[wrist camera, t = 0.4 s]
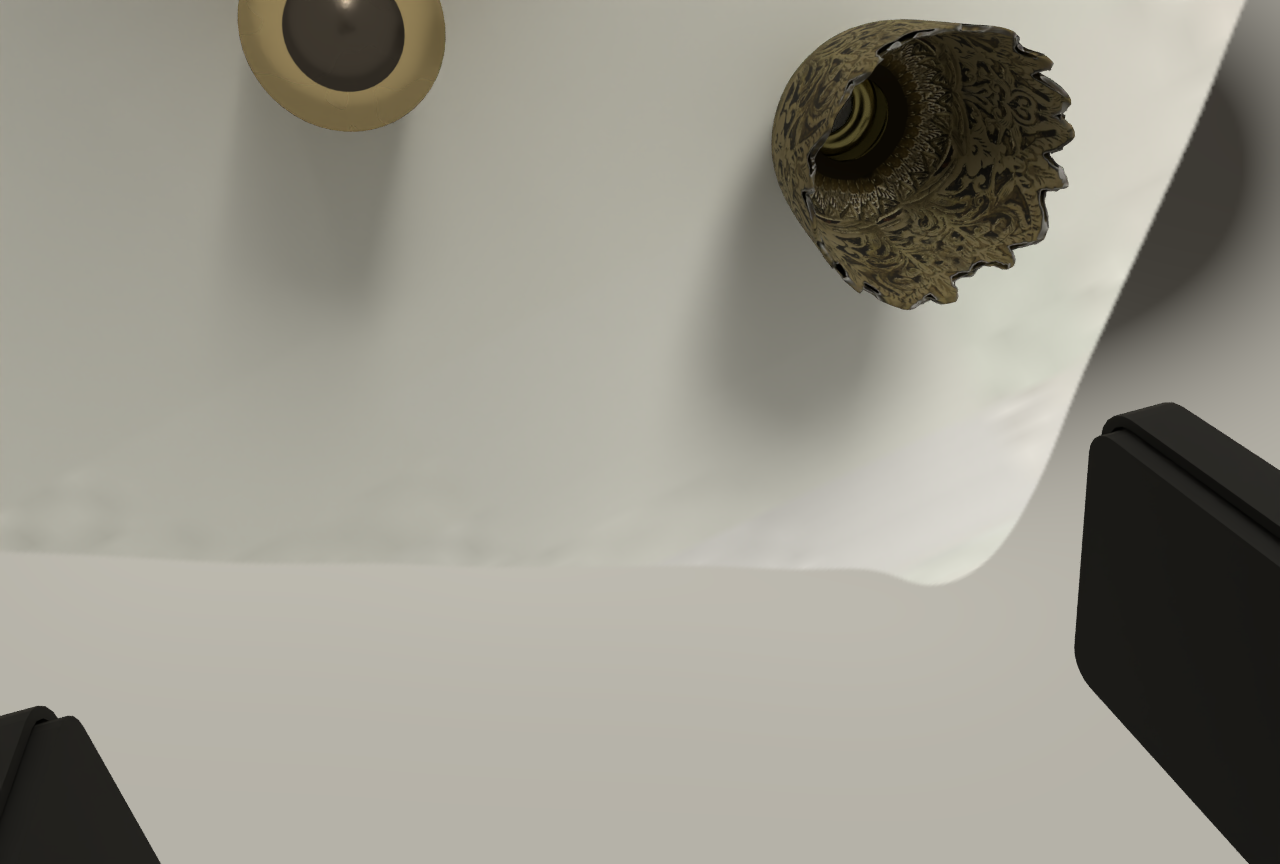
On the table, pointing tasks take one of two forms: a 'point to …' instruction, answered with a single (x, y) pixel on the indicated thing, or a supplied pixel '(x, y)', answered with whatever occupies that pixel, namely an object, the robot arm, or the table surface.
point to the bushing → (344, 57)
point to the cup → (921, 154)
